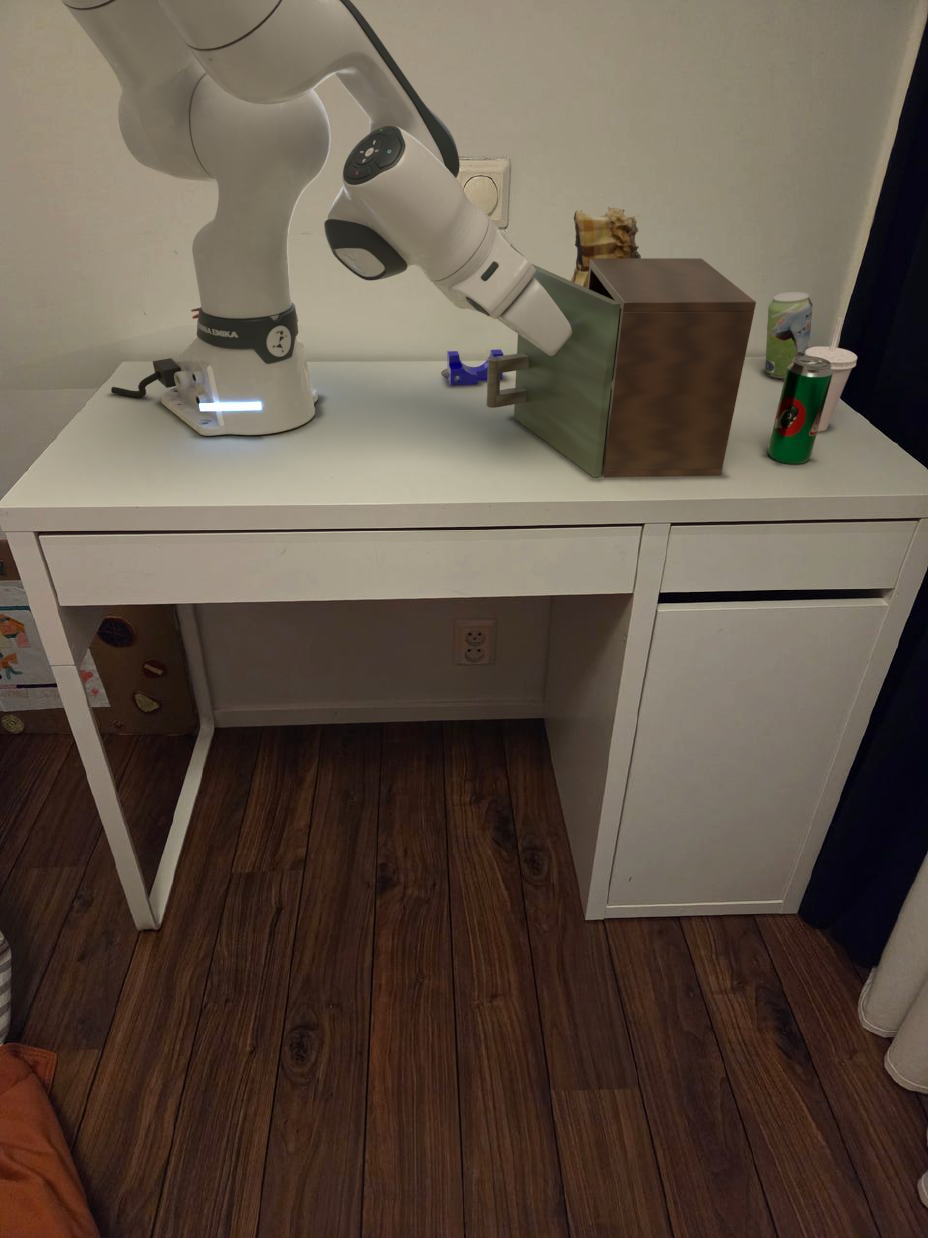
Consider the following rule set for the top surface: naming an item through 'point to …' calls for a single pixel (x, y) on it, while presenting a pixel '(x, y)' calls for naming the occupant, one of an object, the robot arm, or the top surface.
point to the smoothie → (834, 373)
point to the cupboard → (672, 365)
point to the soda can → (800, 409)
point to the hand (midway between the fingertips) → (547, 344)
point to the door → (565, 376)
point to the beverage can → (787, 331)
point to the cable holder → (467, 370)
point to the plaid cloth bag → (602, 240)
